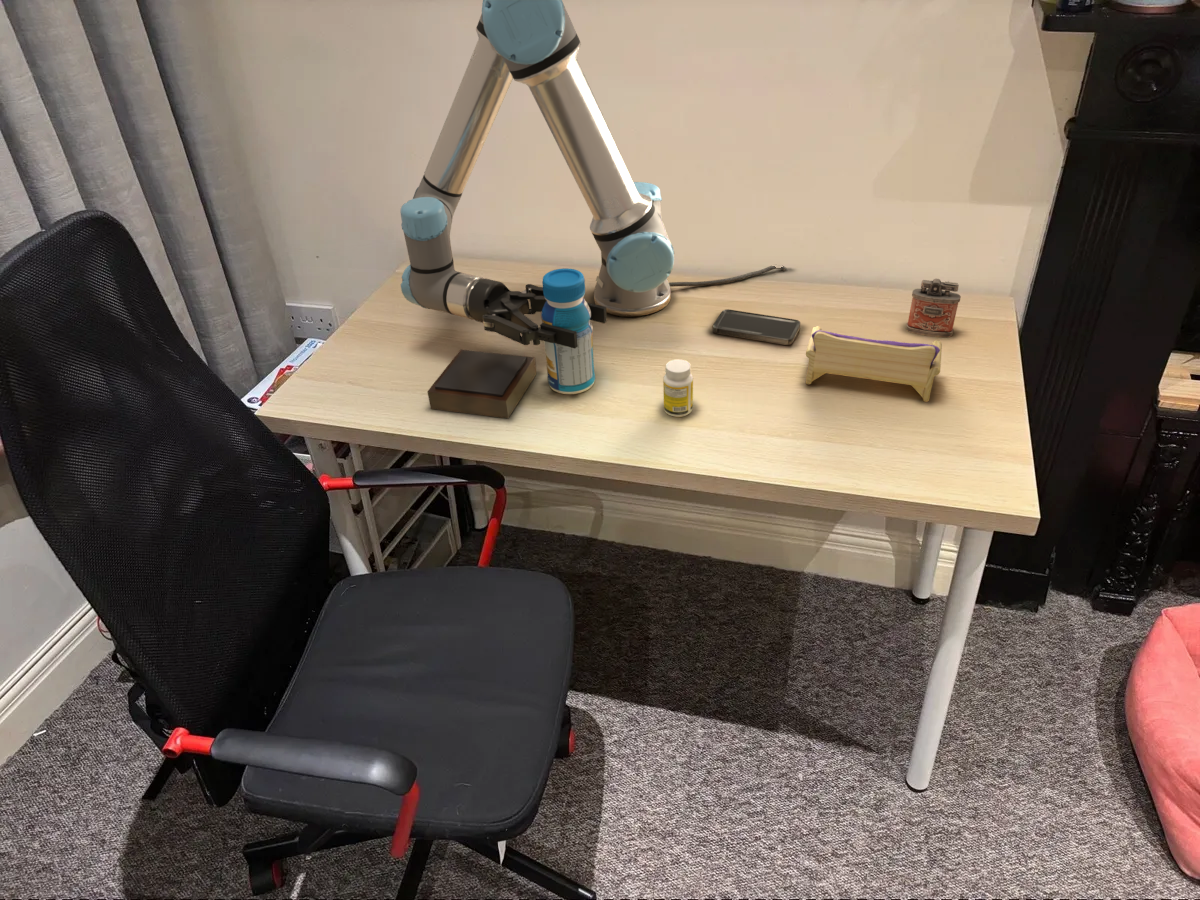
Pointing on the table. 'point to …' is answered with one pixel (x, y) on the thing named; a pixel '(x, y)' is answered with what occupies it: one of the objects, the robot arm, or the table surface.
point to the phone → (756, 327)
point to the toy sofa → (874, 360)
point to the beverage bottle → (571, 312)
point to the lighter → (933, 308)
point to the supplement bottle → (678, 388)
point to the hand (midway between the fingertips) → (590, 327)
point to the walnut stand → (482, 383)
